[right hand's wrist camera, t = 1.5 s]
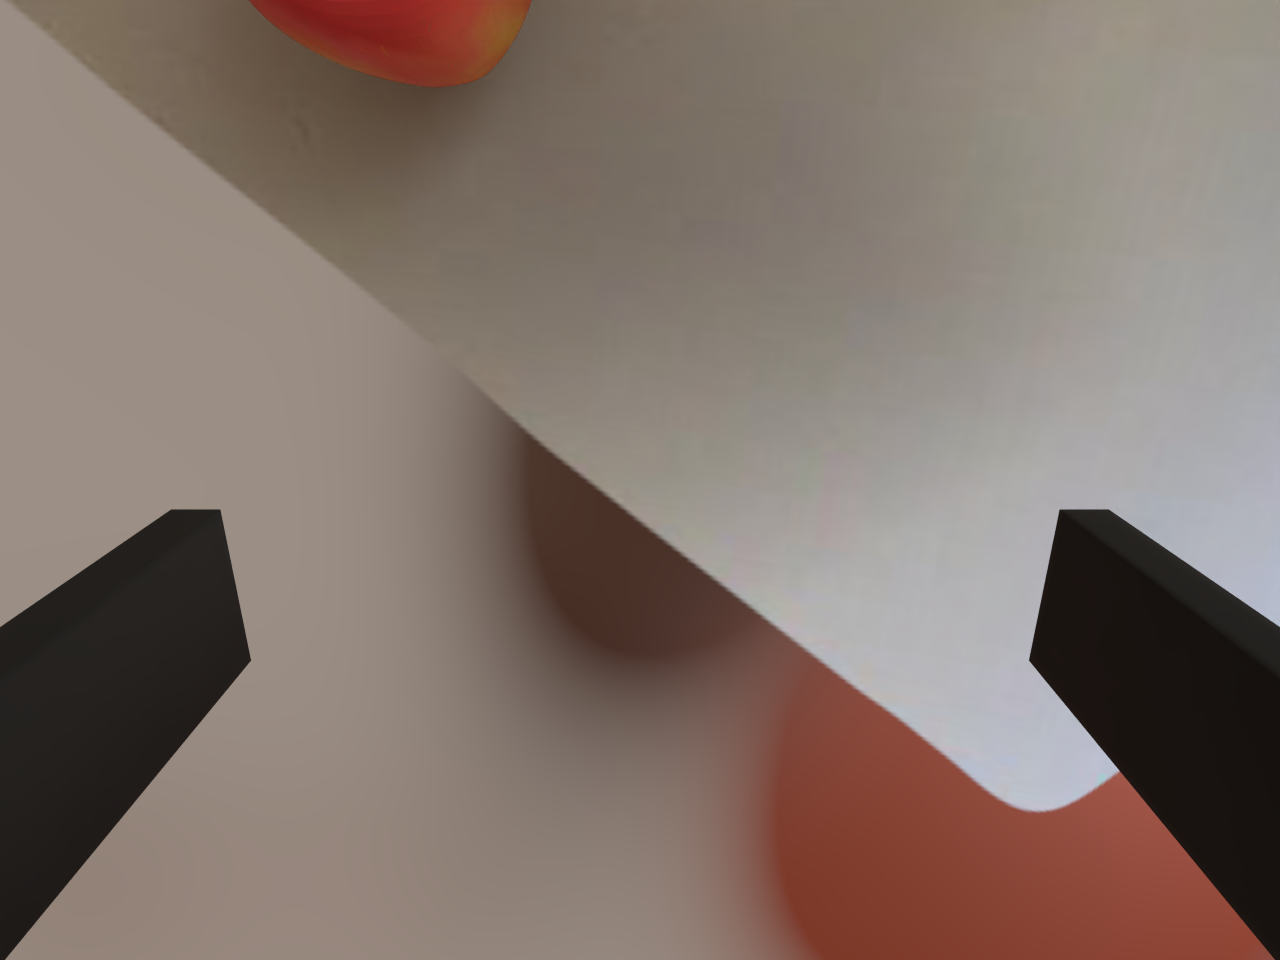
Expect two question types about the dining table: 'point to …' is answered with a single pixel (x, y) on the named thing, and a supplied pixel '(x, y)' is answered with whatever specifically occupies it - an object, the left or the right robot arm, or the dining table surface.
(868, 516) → the dining table surface
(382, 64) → the apple
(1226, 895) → the right robot arm
